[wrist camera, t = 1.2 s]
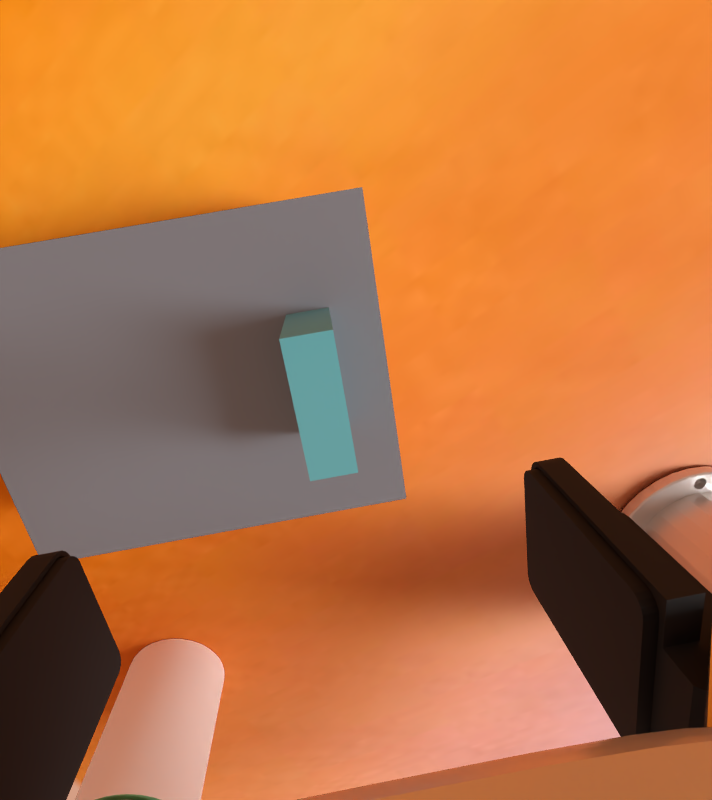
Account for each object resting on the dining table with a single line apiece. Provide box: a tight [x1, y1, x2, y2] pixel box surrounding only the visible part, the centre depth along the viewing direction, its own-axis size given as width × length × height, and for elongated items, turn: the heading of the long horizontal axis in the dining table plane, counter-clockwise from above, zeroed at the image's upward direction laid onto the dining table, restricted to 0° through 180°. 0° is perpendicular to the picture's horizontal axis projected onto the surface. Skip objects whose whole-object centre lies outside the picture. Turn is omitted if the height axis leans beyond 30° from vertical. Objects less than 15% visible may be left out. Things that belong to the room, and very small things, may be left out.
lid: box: [0, 187, 406, 558], centre depth 22 cm, size 16×20×7 cm
